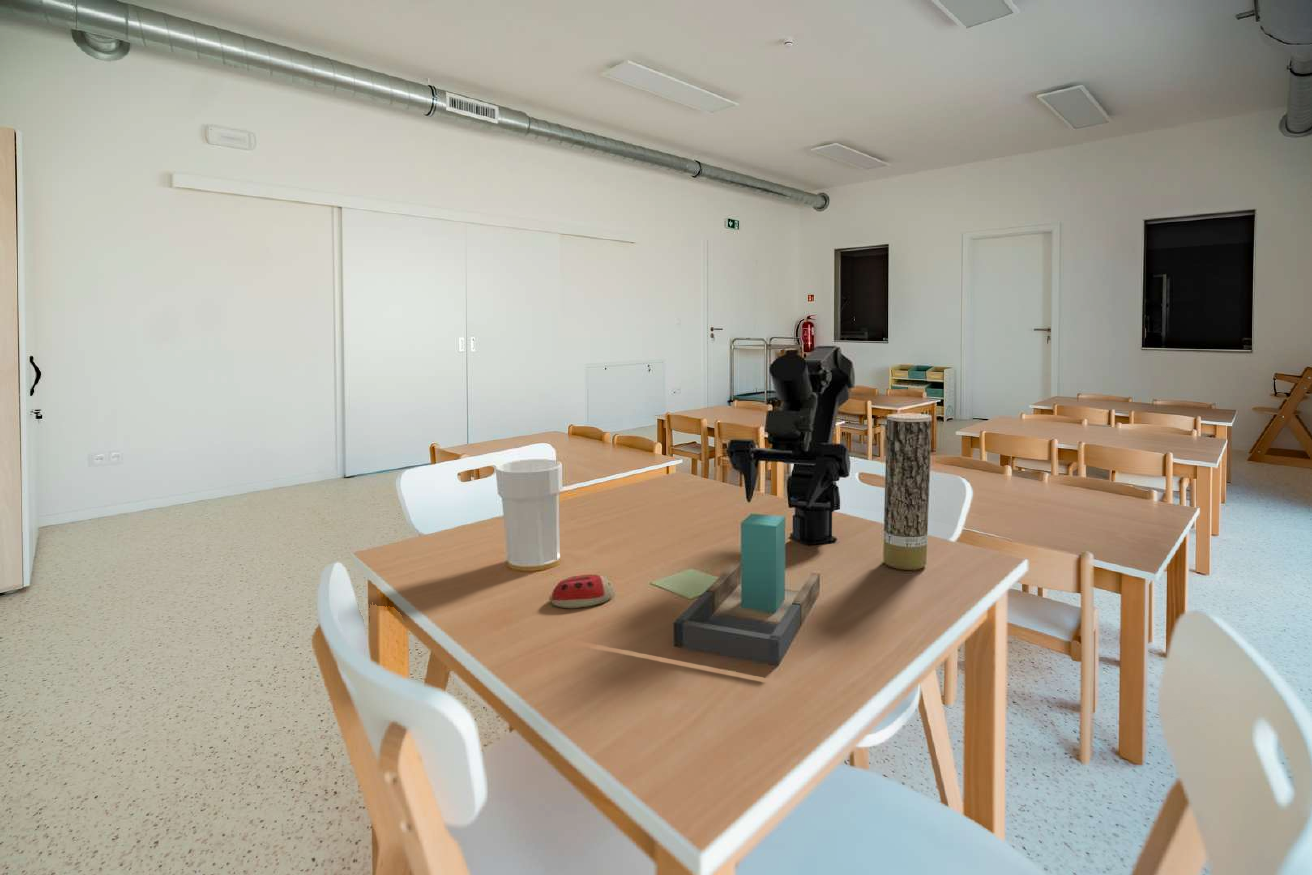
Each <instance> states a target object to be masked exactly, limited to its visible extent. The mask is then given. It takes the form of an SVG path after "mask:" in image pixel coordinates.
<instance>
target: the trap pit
mask: <svg viewBox="0 0 1312 875" xmlns="http://www.w3.org/2000/svg"><path fill="white" fill-rule="evenodd" d="M800 629H801V627H800V605H794V604H791V605H790V607H789V609H788V610H787V612H786V613H785V615H784V616H783V618H782V619H781V621H780V622H779V623H775V622H769V621H762V620H756V619H750V618H744V617H738V616H731V615H725V614H719V613H713V592H706V591H705V592H704V593H703V594H702V595H701V596H699V597H697V599H696V600H694V602H693V603H692V604H691V605H690V606H689V607H688V608H687V609H686V610H685V611H684V612H683V613H682V614H681V615H679V616H678V618H676V620H675V621H674V622H673V644H674V645H673V646H674V647H677V648H681V649H686V650H691V651H696V652H697V651H698V652H703V653H707V654H708V653H709V654H713V655H720V656H725V657H730V658H735V659H741V660H744V661H745V660H746V661H752V662H757V663H761V664H766V665H767V664H768V665H771V666H777V667H779V666H780V664H781V663H782V661H783V659H784V657H785V656H786V654H787V652H788V651H789V648H790V647H791V645H792V643H793V642H794V639H795V637H797V634H798V633H799V631H800Z"/></svg>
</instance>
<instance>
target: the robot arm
mask: <svg viewBox="0 0 1312 875" xmlns="http://www.w3.org/2000/svg"><path fill="white" fill-rule="evenodd" d="M769 375H770V376H771V380H772V384H773V388H774V391H775V394H776V398H777V400H778V401H781V404H780V408H779V410H775V409H774V410H767V411H766V415H765V416H766V417H765V422H764V423H765V424H764V432H765V433H767V438H766V440H767V443H768V444H769V445H771V447H770V448H765V447H757V445H756V443H755V440H754V439H753V438H752V439H749V438H748V439H746V438H744V439H743V438H732V439H730V440H729V441H728V442H727V446H726V450H725V452H726V455H727V457H728V460H729V462H730V464H731V467H732V469H734V470H736V471H737V472H738V473H739V474H740V475H742V476H743V481H744V488H745V491H744V492H745V499H746V501H747V503H751V501H752V499H753V497H754V492H755V488H756V483H757V480H758V474H759V473H758V470H757V469H758V467H759V465H760V462H773V463H783V464H793V467H792V470H791V474H790V475H789V476H787V481H786V482H787V483H786V496H787V504H788V508H789V509H793V508H794V515H792V532H790V533H789V536H790V537H791V538H793V539H795V540H796V541H798V542H801V543H802V544H804V545H806V546H811V545H817V544H824V543H825V544H826V543H830V542H831V543H832V542H836V541H837V540H838V538H837V537H836V536H833V512H834V513H835V511H838V510H839V511H840V510H841V495H840V489H839V486H838V484H837V482H838V481H840V478H845V479H846V478H848V477H850V471H851V460H850V459H851V458H850V454H849V448H848V447H847V445H846V444H845V443H839V442H837V443H835V442H833V440H834V437H835V430H836V426H837V419H838V414H839V411H840V410H839V409H840V407H841V406H842V405H844V404H845V403H846V402H847V401H848V400H849V399H850V396H851V391H852V389H854V388H855V384H856V383H855V382H856V372H855V369H854V364H853V361H852V360H850V359H849V358H848V357H846V356H845V355H844V354H843V353H842V350H841V347H840V346H838V345H817V346H814V347H813V348H812V351H811V352H810V353H809V354H808V355H806V357H803V356H801V355H800V350H799V349H786V350H785V354H782V355H780V356H778V357H777V358H776V359H775V360H773V362H772V363H770V365H769Z"/></svg>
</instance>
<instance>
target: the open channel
mask: <svg viewBox="0 0 1312 875" xmlns="http://www.w3.org/2000/svg"><path fill="white" fill-rule="evenodd" d="M820 575H821V574H820V573H817V572H811V573H810V574H809V576H808V578H807V579H806V580H805V582H804V584H803V585H802V587H801V588H800V590H797V589H796V590H795V589H788V588H785V600H784V602H783V603H782V605H781V606H780V608H779V609H778V610H777V612H776V613H774V612H767V611H761V610H754V609H748V608H741V563H739V562H738V563H737V562H733V563H732V564H730V566H728V568H727V569H725V571H724V572H722V574H720V575H719V577H718V579H717V580H716V581H715V582H714V583H713V584H712V585H711V586H710V587H709V588H708V589H707V590H706V592H713V614H719V615H725V616H732V617H738V618H744V619H750V620H756V621H763V622H769V623H775V624H779V622H780V621H781V619H782V618H783V616H784V615H785V613H786V612H787V610H788V609H789V607H790V605H791V604H794V605H800V628H802V625H803V624H804V622H805V620H806V618H808V615H809V613H810V612H811V610H812V608H813V606H814V605H815V603H816V601H817V600H818V598H819V596H820V590H821V589H820V588H821V587H820V583H821V582H820V581H821V580H820V579H821V576H820Z"/></svg>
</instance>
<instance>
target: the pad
mask: <svg viewBox="0 0 1312 875" xmlns="http://www.w3.org/2000/svg"><path fill="white" fill-rule="evenodd" d="M718 578H719V577H718V576H714V575H712V574H708V573H706V572H704V571H700V570H698V569H695V568H688V569H685V570H683V571H679V572H677V573H673V574H672V575H668V576H666V577H663V578H659V579H656V580H654V581H652V582H650V585H653V586H656V587H659V588H661V589H664V590H666V591H669V592H670V593H673V594H676V595H678V596H680V597H683V598H687V599H689V600H693V599H695V598H699V597H700V596H701V595H702V594H703V593H704V592H705V591H706V590H707V589H708V588H709V587H710V586H711V585H712V584H713V583H714V582H715V581H716V580H717V579H718Z"/></svg>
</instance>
